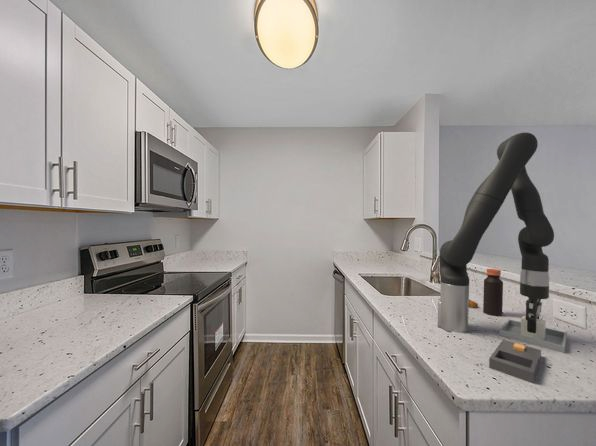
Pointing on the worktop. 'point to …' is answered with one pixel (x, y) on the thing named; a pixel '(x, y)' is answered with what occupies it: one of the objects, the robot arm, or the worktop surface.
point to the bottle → (493, 293)
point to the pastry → (472, 304)
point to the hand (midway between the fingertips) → (533, 329)
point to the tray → (552, 338)
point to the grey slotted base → (516, 360)
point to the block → (539, 329)
